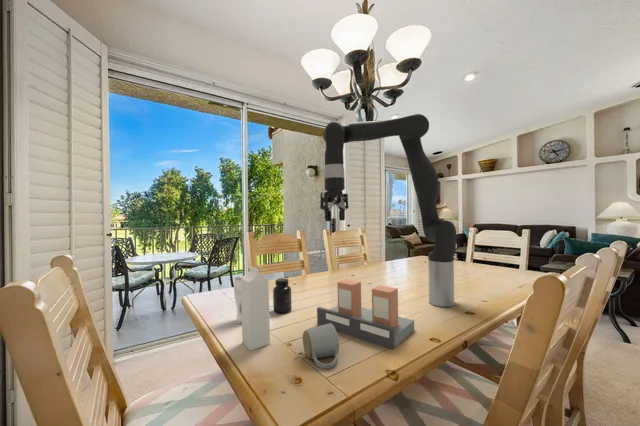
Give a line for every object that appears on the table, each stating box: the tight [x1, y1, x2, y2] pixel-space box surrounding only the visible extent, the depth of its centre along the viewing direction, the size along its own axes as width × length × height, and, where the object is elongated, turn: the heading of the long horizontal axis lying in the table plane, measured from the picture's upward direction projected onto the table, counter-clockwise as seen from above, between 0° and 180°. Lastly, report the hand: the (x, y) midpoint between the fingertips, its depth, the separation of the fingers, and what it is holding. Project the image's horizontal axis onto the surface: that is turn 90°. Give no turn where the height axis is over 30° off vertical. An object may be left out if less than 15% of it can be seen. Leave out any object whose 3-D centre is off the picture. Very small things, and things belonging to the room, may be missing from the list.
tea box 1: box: [337, 278, 362, 317], centre depth 91 cm, size 5×6×11 cm
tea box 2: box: [371, 284, 399, 328], centre depth 82 cm, size 5×6×11 cm
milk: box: [241, 265, 271, 352], centre depth 79 cm, size 6×6×22 cm
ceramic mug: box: [302, 323, 340, 370], centre depth 70 cm, size 11×8×8 cm
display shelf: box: [316, 305, 415, 350], centre depth 88 cm, size 16×27×6 cm, turn 50°
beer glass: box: [233, 275, 244, 324], centre depth 96 cm, size 7×7×15 cm
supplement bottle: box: [272, 277, 293, 315], centre depth 104 cm, size 7×7×12 cm
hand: (335, 220), depth 102 cm, fingers open, 8 cm apart
